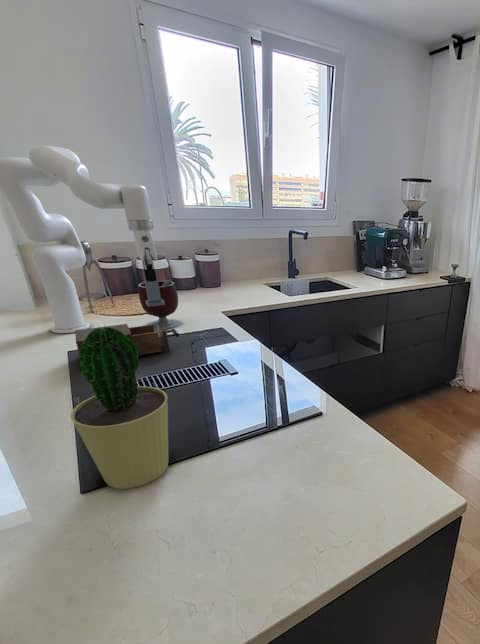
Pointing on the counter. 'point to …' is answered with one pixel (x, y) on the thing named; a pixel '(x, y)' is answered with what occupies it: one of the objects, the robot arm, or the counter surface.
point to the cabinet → (84, 332)
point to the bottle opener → (153, 292)
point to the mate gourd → (161, 311)
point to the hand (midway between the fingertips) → (151, 280)
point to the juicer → (88, 264)
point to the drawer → (151, 338)
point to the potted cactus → (121, 413)
